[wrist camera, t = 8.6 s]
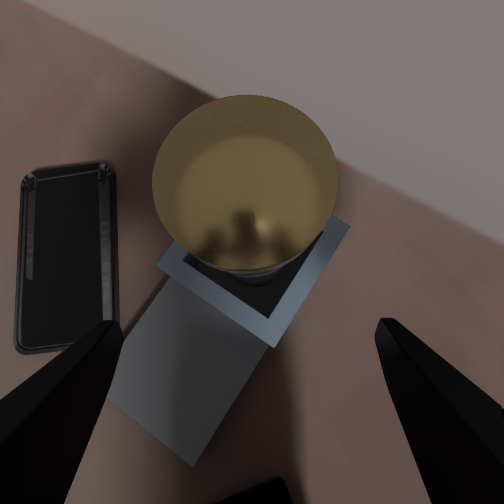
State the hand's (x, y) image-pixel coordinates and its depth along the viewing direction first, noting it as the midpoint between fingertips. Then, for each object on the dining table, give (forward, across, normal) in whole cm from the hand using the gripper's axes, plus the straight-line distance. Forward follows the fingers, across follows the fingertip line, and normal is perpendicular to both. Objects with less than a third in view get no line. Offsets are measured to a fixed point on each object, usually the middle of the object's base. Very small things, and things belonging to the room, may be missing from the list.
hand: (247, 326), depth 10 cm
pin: (+10, 0, +4) cm, 11 cm away
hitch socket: (+9, +3, +8) cm, 12 cm away
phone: (+12, +15, +5) cm, 20 cm away
